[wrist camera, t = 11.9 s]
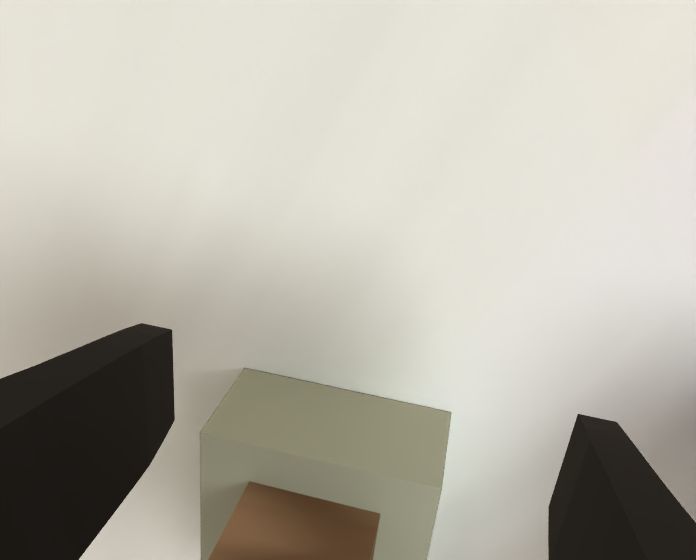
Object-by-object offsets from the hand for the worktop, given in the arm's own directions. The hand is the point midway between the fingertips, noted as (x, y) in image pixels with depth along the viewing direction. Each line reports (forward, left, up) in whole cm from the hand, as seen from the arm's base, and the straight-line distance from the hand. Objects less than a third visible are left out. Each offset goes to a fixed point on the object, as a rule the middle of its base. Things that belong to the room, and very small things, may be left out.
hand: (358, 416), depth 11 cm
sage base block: (+2, +11, -10) cm, 15 cm away
